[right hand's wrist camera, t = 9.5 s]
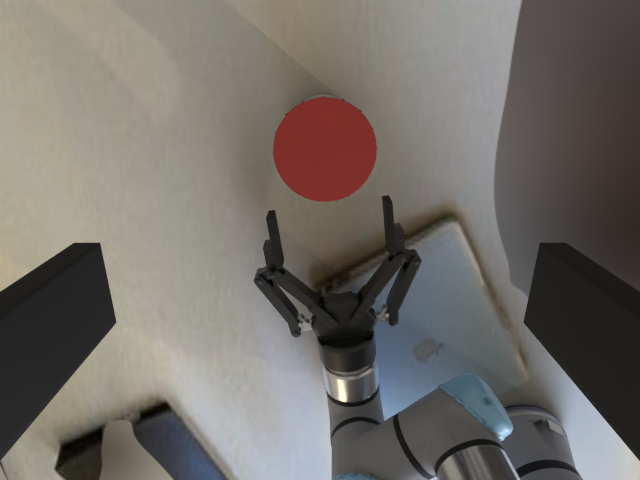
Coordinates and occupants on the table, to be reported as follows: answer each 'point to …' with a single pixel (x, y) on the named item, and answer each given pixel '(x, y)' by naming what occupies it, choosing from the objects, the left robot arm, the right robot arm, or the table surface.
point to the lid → (324, 149)
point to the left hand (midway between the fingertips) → (328, 206)
